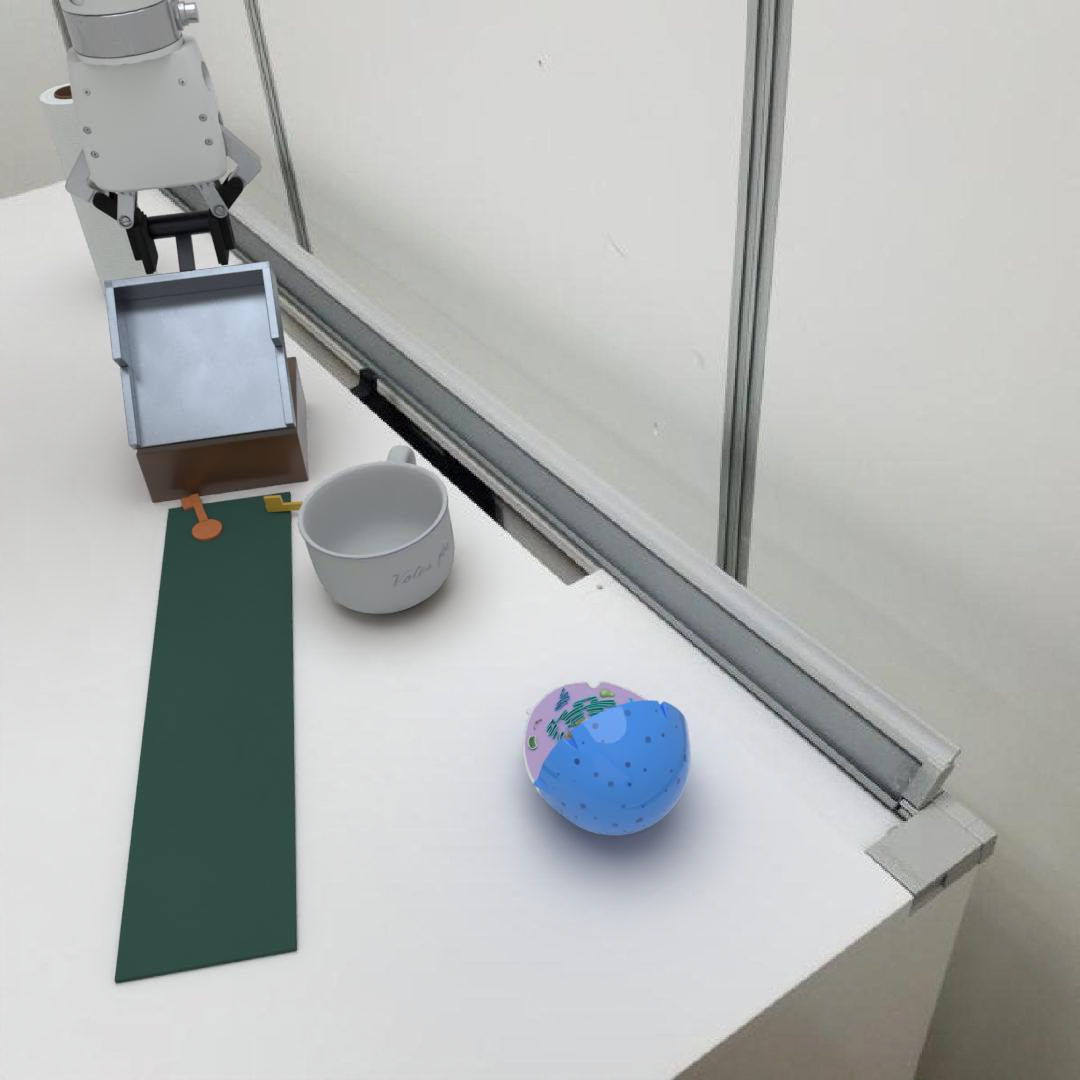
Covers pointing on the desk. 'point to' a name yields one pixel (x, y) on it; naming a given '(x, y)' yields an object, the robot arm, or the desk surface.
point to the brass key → (280, 504)
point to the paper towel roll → (98, 227)
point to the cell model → (607, 756)
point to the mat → (216, 752)
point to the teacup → (379, 534)
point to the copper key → (202, 520)
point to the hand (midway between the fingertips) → (188, 259)
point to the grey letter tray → (199, 346)
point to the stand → (231, 458)
